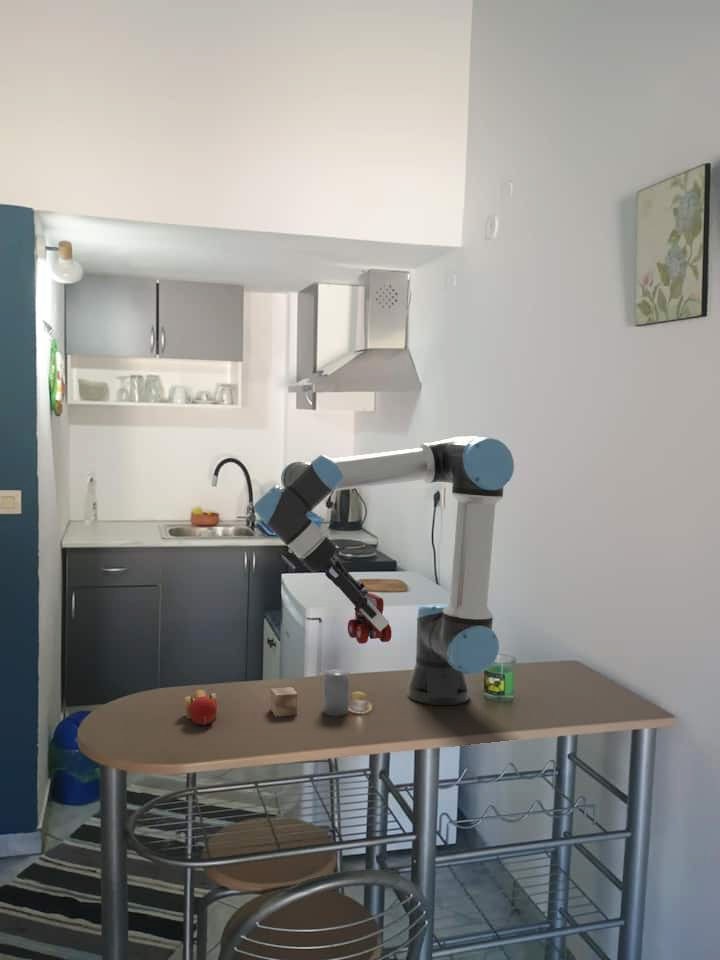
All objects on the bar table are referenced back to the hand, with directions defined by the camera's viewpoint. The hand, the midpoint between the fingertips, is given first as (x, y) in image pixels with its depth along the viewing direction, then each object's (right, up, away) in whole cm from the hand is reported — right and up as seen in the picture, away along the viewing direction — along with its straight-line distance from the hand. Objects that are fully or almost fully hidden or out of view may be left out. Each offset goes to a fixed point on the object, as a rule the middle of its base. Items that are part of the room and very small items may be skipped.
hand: (381, 620), depth 181 cm
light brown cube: (-22, -23, +11) cm, 34 cm away
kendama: (-41, -23, +8) cm, 47 cm away
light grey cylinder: (-10, -23, +13) cm, 28 cm away
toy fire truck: (-3, -4, 0) cm, 5 cm away
